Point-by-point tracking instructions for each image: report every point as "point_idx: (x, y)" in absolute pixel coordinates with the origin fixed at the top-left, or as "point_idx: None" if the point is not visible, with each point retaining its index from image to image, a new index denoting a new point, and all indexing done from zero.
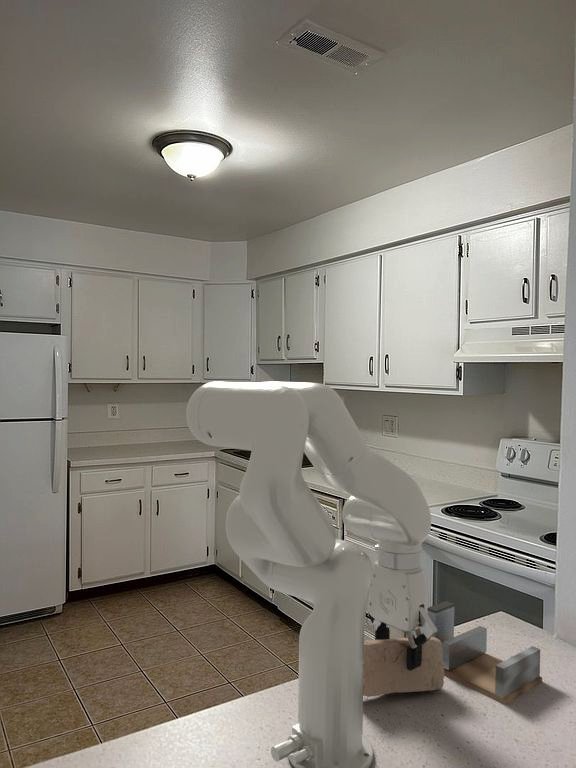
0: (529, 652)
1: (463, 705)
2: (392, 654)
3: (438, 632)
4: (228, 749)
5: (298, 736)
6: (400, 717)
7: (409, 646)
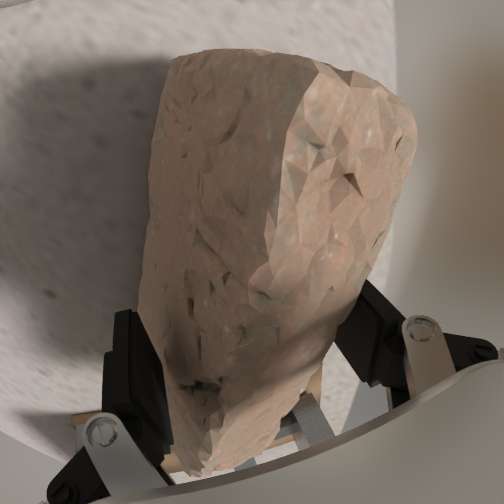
0: None
1: (82, 359)
2: (202, 300)
3: (307, 446)
4: None
5: None
6: (67, 168)
7: (128, 410)
